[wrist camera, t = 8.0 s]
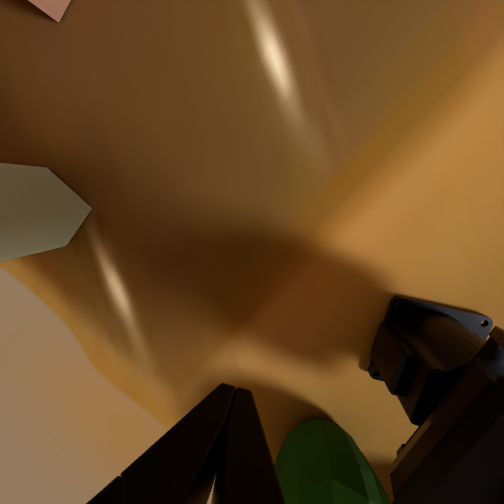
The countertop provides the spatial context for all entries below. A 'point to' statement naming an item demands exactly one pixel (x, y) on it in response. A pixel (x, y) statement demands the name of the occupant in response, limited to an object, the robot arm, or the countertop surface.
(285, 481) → the bell pepper
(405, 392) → the robot arm
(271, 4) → the countertop surface
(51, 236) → the sage block
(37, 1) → the terracotta block
